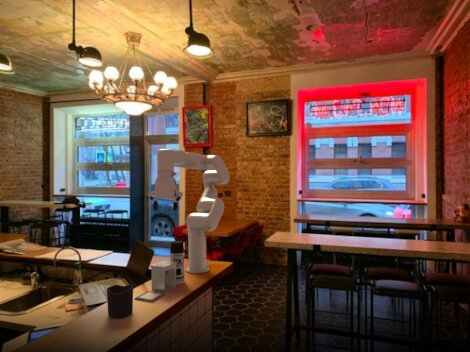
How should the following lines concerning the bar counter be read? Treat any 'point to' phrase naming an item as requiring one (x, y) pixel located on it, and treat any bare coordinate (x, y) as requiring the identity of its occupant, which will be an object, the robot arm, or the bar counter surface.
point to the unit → (163, 276)
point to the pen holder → (120, 301)
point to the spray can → (178, 260)
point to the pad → (150, 296)
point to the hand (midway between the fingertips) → (165, 210)
